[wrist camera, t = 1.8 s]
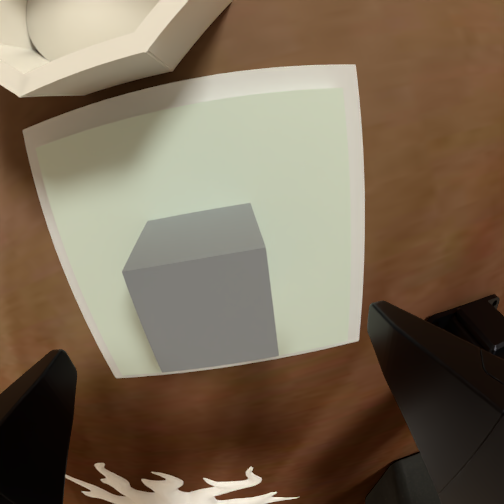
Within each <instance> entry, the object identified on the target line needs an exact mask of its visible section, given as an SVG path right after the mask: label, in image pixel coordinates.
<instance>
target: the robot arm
mask: <svg viewBox="0 0 504 504" xmlns="http://www.w3.org/2000/svg"><path fill="white" fill-rule="evenodd" d="M498 304H499V297H498V296H496V295H495V294H493V295H490V296H488V297H485V298H482V299H479V300H477V301H474V302H471V303H468V304H465V305H462V306H459V307H456V308H453V309H450V310H447V311H444V312H441V313H438V314H435V315H433V316H431V317H430V318H429V319H428V321H425V320H423V319H421V318H419V317H417V316H415V315H413V314H411V313H408V312H406V311H404V310H402V309H400V308H398V307H396V306H394V305H392V304H390V303H388V302H386V301H379V302H374V303H372V304H371V305H370V307H369V315H368V326H367V328H368V334H369V336H370V339H371V342H372V344H373V347H374V350H375V353H376V355H377V358H378V361H379V364H380V366H381V369H382V372H383V375H384V377H385V379H386V381H387V384H388V386H389V388H390V390H391V392H392V394H393V396H394V398H395V400H396V402H397V404H398V406H399V408H400V410H401V412H402V414H403V417H404V419H405V421H406V423H407V425H408V427H409V429H410V431H411V434H412V436H413V438H414V440H415V442H416V445H417V447H418V449H419V451H420V453H421V456H422V458H423V460H424V462H425V465H426V467H427V469H428V472H429V474H430V476H431V479H432V481H433V483H434V486H435V488H436V490H437V493H438V496H439V498H440V501H441V503H442V504H504V316H503V315H502V314H501V313H500V312H499V311H498V310H497V307H498ZM76 382H77V371H76V368H75V366H74V365H73V363H72V361H71V360H70V358H69V356H68V355H67V353H66V352H65V351H64V350H62V349H59V350H52V351H50V352H49V353H48V354H47V355H45V356H44V357H43V358H42V359H41V360H40V361H38V362H37V363H36V364H35V365H34V366H32V367H31V368H30V369H29V370H28V371H27V372H25V373H24V374H23V375H22V376H21V377H20V378H18V379H17V380H16V381H15V382H14V383H13V384H11V385H10V386H9V387H8V388H7V389H6V390H5V391H3V392H2V393H1V394H0V504H63V496H64V484H65V474H66V465H67V457H68V449H69V442H70V436H71V429H72V423H73V415H74V403H75V392H76Z"/></svg>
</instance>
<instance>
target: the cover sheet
mask: <svg viewBox="0 0 504 504" xmlns="http://www.w3.org/2000/svg"><path fill="white" fill-rule="evenodd" d="M36 153H37V157H38V161H39V165H40V169H41V173H42V177H43V181H44V185H45V188H46V192H47V196H48V199H49V202H50V206H51V209H52V212H53V216H54V219H55V222H56V225H57V228H58V231H59V234H60V237H61V240H62V243H63V245H64V248H65V251H66V254H67V256H68V259H69V262H70V264H71V267H72V270H73V272H74V275H75V277H76V280H77V282H78V285H79V287H80V289H81V292H82V294H83V296H84V299H85V301H86V303H87V306H88V308H89V310H90V312H91V315H92V317H93V319H94V321H95V323H96V325H97V327H98V330H99V332H100V334H101V336H102V338H103V340H104V342H105V344H106V346H107V348H108V350H109V352H110V354H111V356H112V358H113V359H114V361H115V363H116V365H117V367H118V369H119V371H120V372H121V374H122V376H124V375H138V374H150V373H161V372H162V373H163V372H173V371H182V370H190V369H199V368H206V367H214V366H221V365H228V364H234V363H241V362H247V361H253V360H259V359H265V358H270V357H276V356H280V355H285V354H290V353H295V352H300V351H305V350H310V349H315V348H319V347H324V346H328V345H333V344H337V343H341V342H346V341H348V329H349V310H350V283H351V201H350V174H349V155H348V140H347V126H346V115H345V104H344V94H343V88H325V89H307V90H293V91H281V92H271V93H262V94H253V95H245V96H238V97H231V98H224V99H218V100H212V101H206V102H200V103H195V104H189V105H184V106H179V107H174V108H170V109H165V110H160V111H156V112H152V113H147V114H143V115H139V116H135V117H131V118H127V119H124V120H120V121H116V122H113V123H109V124H106V125H102V126H99V127H96V128H92V129H89V130H86V131H83V132H80V133H76V134H73V135H70V136H67V137H65V138H62V139H59V140H56V141H53V142H50V143H48V144H45V145H42V146H40V147H37V148H36Z"/></svg>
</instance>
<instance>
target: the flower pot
mask: <svg viewBox="0 0 504 504" xmlns="http://www.w3.org/2000/svg"><path fill="white" fill-rule="evenodd" d="M365 504H442V503H441V501H440V498H439V496H438V493H437V490H436V488H435V486H434V483H433V481H432V479H431V476H430V474H429V472H428V469H427V467H426V465H425V462H424V460H423V458H422V456H421V453H418V454H416V455H413V456H410V457H407V458H405V459H402V460H399V461H397V462H395V463H393V464H392V465H391V466H390V467H389V468H388V470H387V471H386V472H385V474H384V475H383V476H382V478H381V479H380V480H379V482H378V483H377V484H376V485H375V487H374V488H373V489H372V491H371V492H370V493H369V494H368V496H367V497H366V499H365Z"/></svg>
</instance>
